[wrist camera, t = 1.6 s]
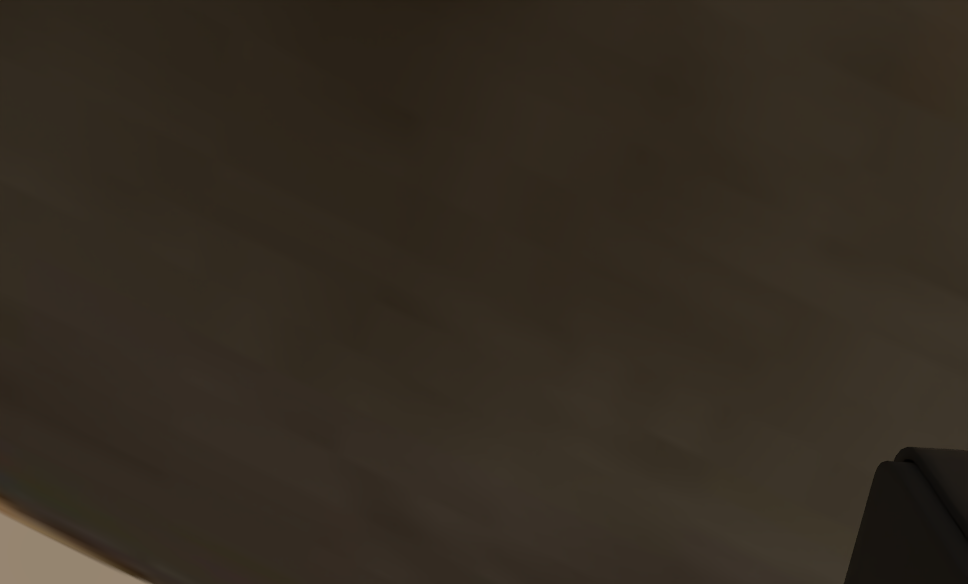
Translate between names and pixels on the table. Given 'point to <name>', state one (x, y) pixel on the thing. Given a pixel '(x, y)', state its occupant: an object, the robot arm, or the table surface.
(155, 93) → the table surface
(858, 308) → the table surface
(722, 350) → the table surface
